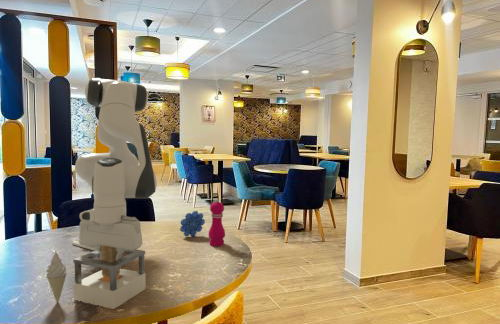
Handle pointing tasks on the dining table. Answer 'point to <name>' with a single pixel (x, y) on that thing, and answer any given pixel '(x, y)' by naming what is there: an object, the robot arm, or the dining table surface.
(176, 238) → the dining table surface
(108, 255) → the wooden toy block
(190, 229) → the blue flower gear
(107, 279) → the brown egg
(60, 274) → the ice cream cone
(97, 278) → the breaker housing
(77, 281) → the guard frame
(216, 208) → the pepper mill
